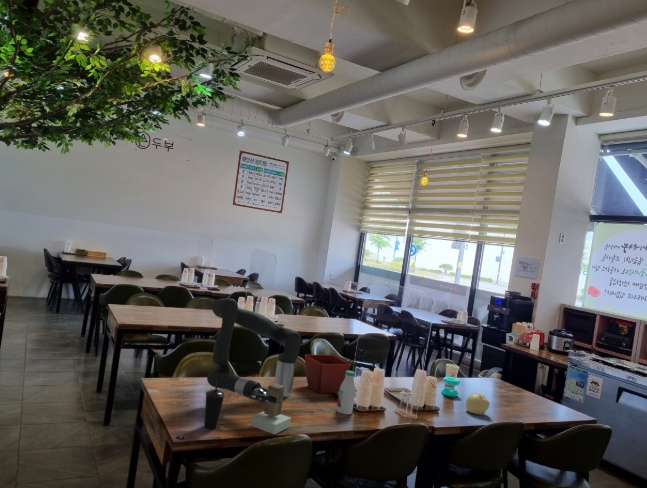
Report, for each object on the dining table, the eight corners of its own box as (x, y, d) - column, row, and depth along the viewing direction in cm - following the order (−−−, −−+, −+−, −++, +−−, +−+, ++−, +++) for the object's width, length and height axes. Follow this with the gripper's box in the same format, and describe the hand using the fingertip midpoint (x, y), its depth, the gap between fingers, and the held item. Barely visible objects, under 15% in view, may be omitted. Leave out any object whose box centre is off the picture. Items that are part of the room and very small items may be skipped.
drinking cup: (202, 422, 208) (209, 374, 208) (220, 424, 209) (228, 376, 209) (199, 429, 201) (206, 379, 200) (218, 431, 201) (226, 381, 201)
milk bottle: (353, 411, 250) (360, 371, 250) (349, 416, 243) (355, 375, 242) (339, 407, 252) (345, 368, 252) (334, 412, 245) (340, 371, 245)
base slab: (266, 418, 223) (268, 409, 223) (289, 427, 218) (291, 417, 218) (250, 425, 213) (252, 416, 212) (274, 434, 207) (275, 424, 207)
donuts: (449, 380, 302) (440, 375, 311) (446, 397, 302) (437, 391, 311) (463, 381, 305) (454, 376, 314) (461, 398, 305) (451, 392, 315)
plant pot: (328, 383, 292) (333, 354, 292) (346, 395, 276) (351, 364, 276) (299, 384, 282) (304, 354, 282) (316, 396, 266) (321, 364, 266)
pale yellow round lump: (490, 417, 275) (493, 398, 275) (470, 415, 273) (473, 396, 273) (480, 410, 286) (483, 391, 286) (460, 408, 284) (464, 389, 284)
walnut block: (270, 410, 218) (275, 383, 218) (280, 414, 216) (284, 386, 216) (264, 413, 214) (268, 385, 214) (273, 417, 212) (278, 388, 211)
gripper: (239, 382, 215) (272, 394, 207) (258, 376, 228) (290, 387, 220) (236, 400, 215) (269, 412, 207) (255, 393, 228) (287, 404, 220)
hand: (279, 399), depth 214 cm, fingers closed on walnut block, 5 cm apart
